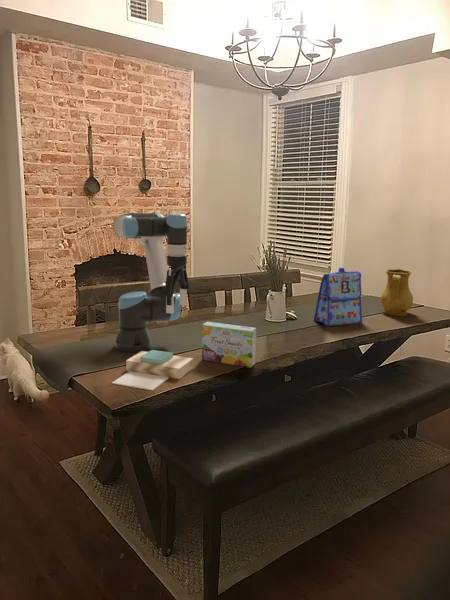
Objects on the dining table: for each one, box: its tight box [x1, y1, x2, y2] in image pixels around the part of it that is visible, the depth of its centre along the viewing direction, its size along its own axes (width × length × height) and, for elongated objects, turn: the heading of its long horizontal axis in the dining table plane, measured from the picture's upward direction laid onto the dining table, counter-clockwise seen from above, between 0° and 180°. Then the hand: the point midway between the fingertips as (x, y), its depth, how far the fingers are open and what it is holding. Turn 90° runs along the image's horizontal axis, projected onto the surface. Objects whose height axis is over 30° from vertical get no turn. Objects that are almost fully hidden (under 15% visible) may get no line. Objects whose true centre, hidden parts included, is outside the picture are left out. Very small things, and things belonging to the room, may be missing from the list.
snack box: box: [201, 321, 257, 368], centre depth 199 cm, size 21×6×15 cm, turn 69°
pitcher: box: [379, 268, 414, 317], centre depth 281 cm, size 17×19×25 cm
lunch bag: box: [313, 267, 363, 327], centre depth 261 cm, size 22×14×29 cm, turn 114°
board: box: [125, 350, 194, 380], centre depth 191 cm, size 22×12×4 cm, turn 70°
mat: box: [111, 371, 169, 391], centre depth 180 cm, size 16×12×1 cm
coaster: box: [140, 349, 174, 365], centre depth 190 cm, size 9×9×2 cm
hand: (176, 308), depth 198 cm, fingers open, 13 cm apart
